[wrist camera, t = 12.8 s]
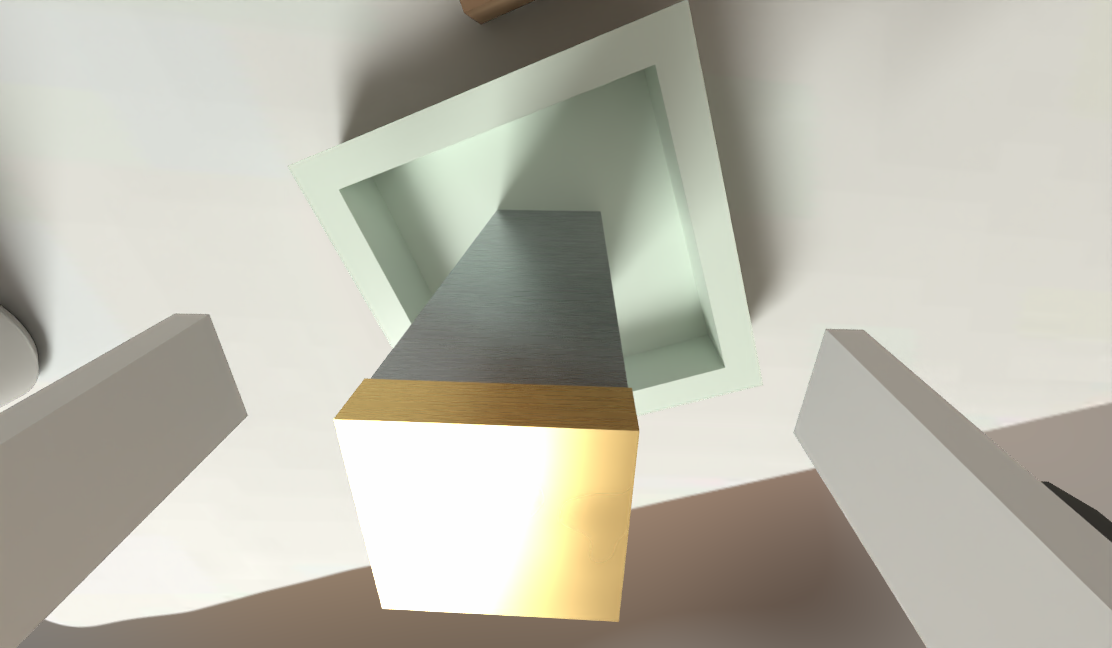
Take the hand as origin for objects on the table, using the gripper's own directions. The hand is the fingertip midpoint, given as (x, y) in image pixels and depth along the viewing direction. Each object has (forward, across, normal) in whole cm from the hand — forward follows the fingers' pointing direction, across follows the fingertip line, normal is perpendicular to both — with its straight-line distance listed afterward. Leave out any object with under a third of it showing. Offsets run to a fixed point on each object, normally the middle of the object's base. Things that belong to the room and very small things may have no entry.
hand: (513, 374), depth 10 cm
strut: (+9, 0, -1) cm, 9 cm away
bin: (+10, 0, -1) cm, 10 cm away
